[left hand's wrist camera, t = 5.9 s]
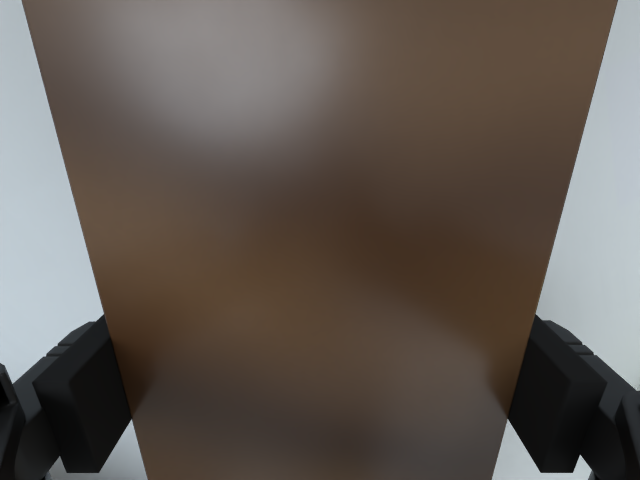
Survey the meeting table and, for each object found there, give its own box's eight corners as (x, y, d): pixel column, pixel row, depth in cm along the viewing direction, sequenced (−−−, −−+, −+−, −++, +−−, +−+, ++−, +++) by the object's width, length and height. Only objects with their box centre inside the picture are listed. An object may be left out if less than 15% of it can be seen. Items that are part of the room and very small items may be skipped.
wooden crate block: (166, -177, 11) (-220, -900, 3) (473, -176, 11) (856, -893, 3) (224, 319, 18) (148, 485, 10) (415, 319, 18) (491, 485, 10)
